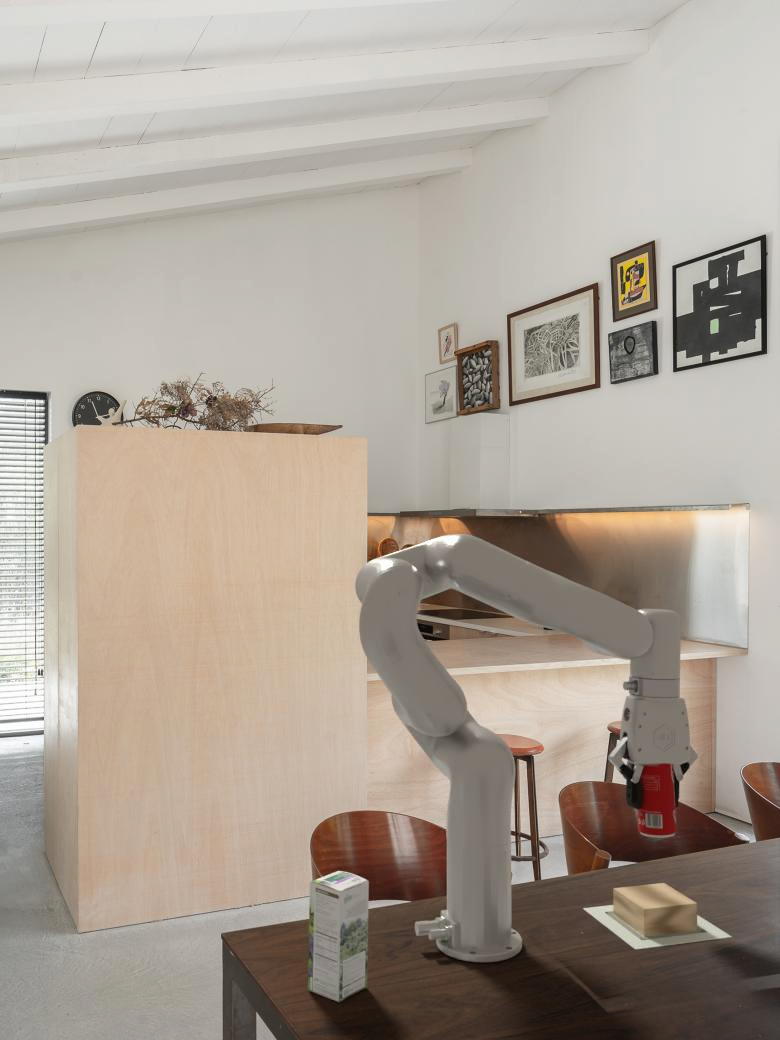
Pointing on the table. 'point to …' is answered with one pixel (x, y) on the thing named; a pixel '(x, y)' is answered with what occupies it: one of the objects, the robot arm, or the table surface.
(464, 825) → the robot arm
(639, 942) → the board
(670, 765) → the beverage can
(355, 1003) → the table surface
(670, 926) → the oak block
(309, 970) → the syrup box
